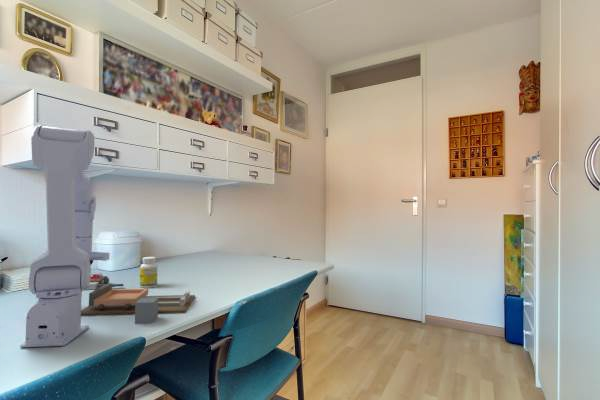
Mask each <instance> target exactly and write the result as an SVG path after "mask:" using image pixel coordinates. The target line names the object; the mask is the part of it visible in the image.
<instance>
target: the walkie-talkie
mask: <svg viewBox="0 0 600 400" xmlns="http://www.w3.org/2000/svg"><path fill="white" fill-rule="evenodd" d="M109 282H110V278H109V277H108V276H107V275H103V273H102V272H101V273H100V272H95V273H94V272H91V277H90V284H89V287H88V288H86V291H87V290H88V291H89V290H90V291H91V290H92V291H95V290H96V289H98V288H100V287H102V286H104V285H106V284H108V283H109ZM115 287H124V283H112V288H115Z"/></svg>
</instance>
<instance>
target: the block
mask: <svg viewBox="0 0 600 400" xmlns="http://www.w3.org/2000/svg"><path fill="white" fill-rule="evenodd" d="M158 315H159V314H158V297H157V298H141V299H139V300H138V301H137V302H136V303H135V314H134V325H137V324H138V325H140V324H141V325H143V324H154V322H156V320H158Z"/></svg>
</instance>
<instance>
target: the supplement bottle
mask: <svg viewBox="0 0 600 400" xmlns="http://www.w3.org/2000/svg"><path fill="white" fill-rule="evenodd" d="M139 267H140V268H139V287H140V288H141V289H149V288H154V287H156V286H157V285H158V263H156V256H145V257H142V264H140V266H139Z"/></svg>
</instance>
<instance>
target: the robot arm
mask: <svg viewBox="0 0 600 400" xmlns="http://www.w3.org/2000/svg"><path fill="white" fill-rule="evenodd" d="M30 140H31V143H30V144H31V159H32V164H33V166H34V167H36V168H38V169H40V170H42V171H43V175H44V179H45V198H46V199H45V200H46V232H47V233H46V234H47V237H46V239H47V249H45V250H44V251H42V252H40V253H38V254H37V255H36V256H34V258H33V259H32V261H31V262H30V265H29V268H30V269H29V275H28V290H29V292H30V293H32V295H35V298H36V299H37V302H36V303H35V304H34V305H33V306H32V307H30V309H29V310H28V311H27V313H26V316H25V317H26V319H25V320H26V321H25V322H26V323H25V341H24V342H23V343H21V344H20V345H19V347H20V348H32V347H33V348H38V347H39V348H42V347H60V346H66V345H67V344H69V343H70V342H71V341H72V340H74V339H75V338H76V337H78V336H79V335H80V334H82V333H84V332H85V331H86V330H87V329H89V327H90V325H89V324H82V325H81V322H82V321H81V320H82V316H81V310H82V295H83V294H82V292H83V291H85V290H86V288H88V287H89V284H90V277H91V276H92V275H91V273H92V264H93V263H94V261H103V262H105V261H109V260H110V252H100V251H93V228H94V227H93V226H94V220H95V212H96V207H97V206H96V205H97V202H96V201H97V197H96V195H93V192H92V185H91V180H90V178H89V177H88V176H87V175H85V173H84V172H85V171H86V170H88V169H89V166H90V165H91V163H92V161H93V157H94V155H95V135H94V133H93V132H92V131H91V130H82V129H81V130H80V129H71V128H62V127H61V128H60V127H53V126H43V125H41V124H38V125H36V126H35V127H34V128H33V130H32V132H31V138H30ZM86 291H87V290H86Z"/></svg>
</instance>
